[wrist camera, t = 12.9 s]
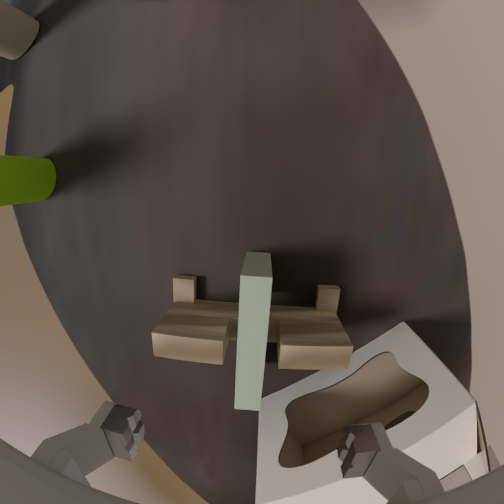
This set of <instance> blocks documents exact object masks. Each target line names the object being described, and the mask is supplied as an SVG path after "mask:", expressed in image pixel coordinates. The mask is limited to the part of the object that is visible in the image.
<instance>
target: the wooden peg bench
mask: <svg viewBox="0 0 504 504" xmlns="http://www.w3.org/2000/svg"><path fill="white" fill-rule="evenodd" d="M339 295H340V288H339V286H336V285H317V293H316V300H315V307H298V306H279V305H270V313H269V324H268V335H267V342H274V343H277V352H278V367H279V369H348V367H349V363H350V359H351V355H352V351H353V347H354V346H353V344H352V342H351V341H350V339H349V337H348V335H347V333H346V331H345V329H344V327H343V326H342V324H341V322H340V320H339V318H338V316H337V315H336V314H337V308H338V302H339ZM173 296H174V304H173V305H172V306H171V308H170V309H169V310H168V312H167V313H166V314H165V315H164V317H163V318H162V319H161V321H160V322H159V323H158V325H157V326H156V327H155V329H154V330H153V331H152V342H153V351H154V356H159V357H165V358H172V359H179V360H186V361H194V362H202V363H211V364H221V365H223V361H224V357H225V352H226V348H227V344H228V340H229V339H230V340H237V337H238V316H239V303H234V302H221V301H209V300H198V299H196V277H195V276H183V275H176V276H175V277H174V278H173Z"/></svg>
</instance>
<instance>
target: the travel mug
mask: <svg viewBox="0 0 504 504" xmlns="http://www.w3.org/2000/svg"><path fill="white" fill-rule="evenodd" d="M38 30H39V22H38V21H37V20H35V19H34V18H32V17H30V16H28V15H27V14H25V13H23V12H21V11H20V10H18V9H16V8H14V7H13V6H11V5H9V4H7V3H5V2H3V1H2V0H0V56H2V57H5V58H8V59H10V60H15V59H17V58H19V57H20V56H22V55H23V54H24V53H25V52H26V51H27V50H28V48H29V47H30V46H31V44H32V43H33V41H34V39H35V38H36V36H37V33H38Z"/></svg>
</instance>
